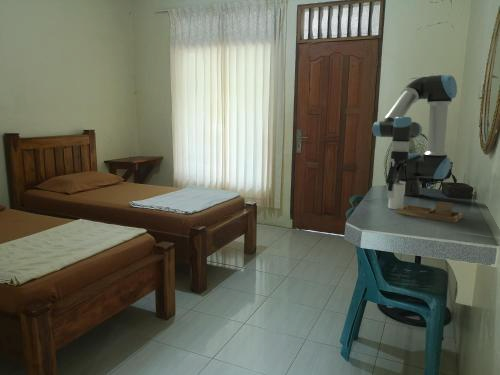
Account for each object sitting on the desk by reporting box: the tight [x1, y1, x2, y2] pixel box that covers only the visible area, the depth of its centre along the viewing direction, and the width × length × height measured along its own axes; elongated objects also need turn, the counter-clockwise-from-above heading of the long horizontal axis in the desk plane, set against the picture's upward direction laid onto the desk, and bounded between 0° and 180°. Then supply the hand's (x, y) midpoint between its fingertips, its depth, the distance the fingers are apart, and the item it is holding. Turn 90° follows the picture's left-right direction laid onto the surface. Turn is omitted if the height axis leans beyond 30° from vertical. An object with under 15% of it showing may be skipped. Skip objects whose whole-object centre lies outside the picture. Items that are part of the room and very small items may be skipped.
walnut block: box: [434, 201, 454, 217], centre depth 162 cm, size 6×6×6 cm
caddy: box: [397, 204, 464, 224], centre depth 166 cm, size 12×23×3 cm, turn 48°
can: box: [387, 182, 405, 211], centre depth 181 cm, size 6×6×12 cm
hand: (396, 196), depth 181 cm, fingers open, 13 cm apart
